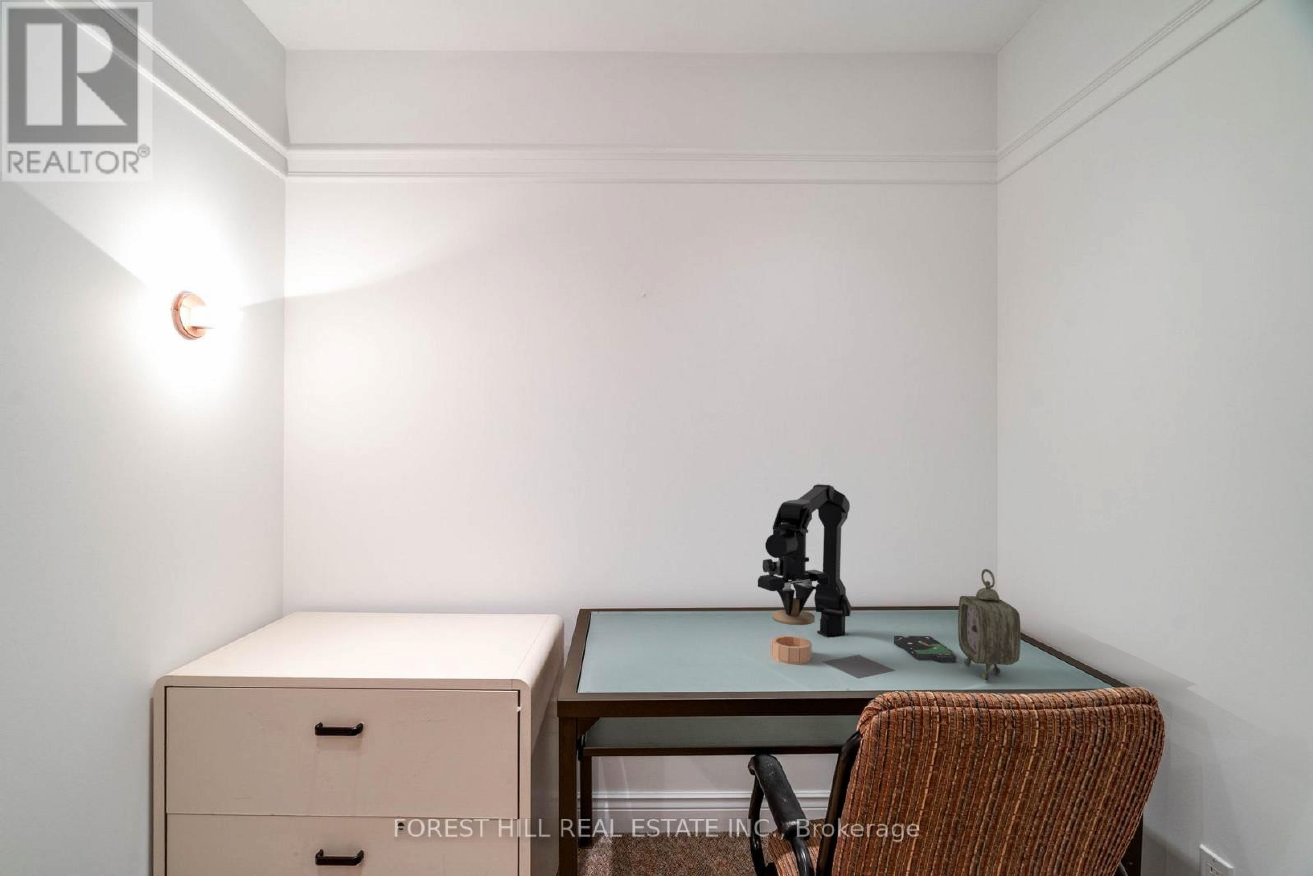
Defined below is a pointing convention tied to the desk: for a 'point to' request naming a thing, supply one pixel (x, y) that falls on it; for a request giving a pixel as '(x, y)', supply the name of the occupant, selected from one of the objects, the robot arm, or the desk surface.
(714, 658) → the desk surface
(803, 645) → the bowl
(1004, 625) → the tabletop clock
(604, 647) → the desk surface
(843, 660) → the trivet
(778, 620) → the lid
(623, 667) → the desk surface
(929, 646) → the disk drive
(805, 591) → the robot arm
